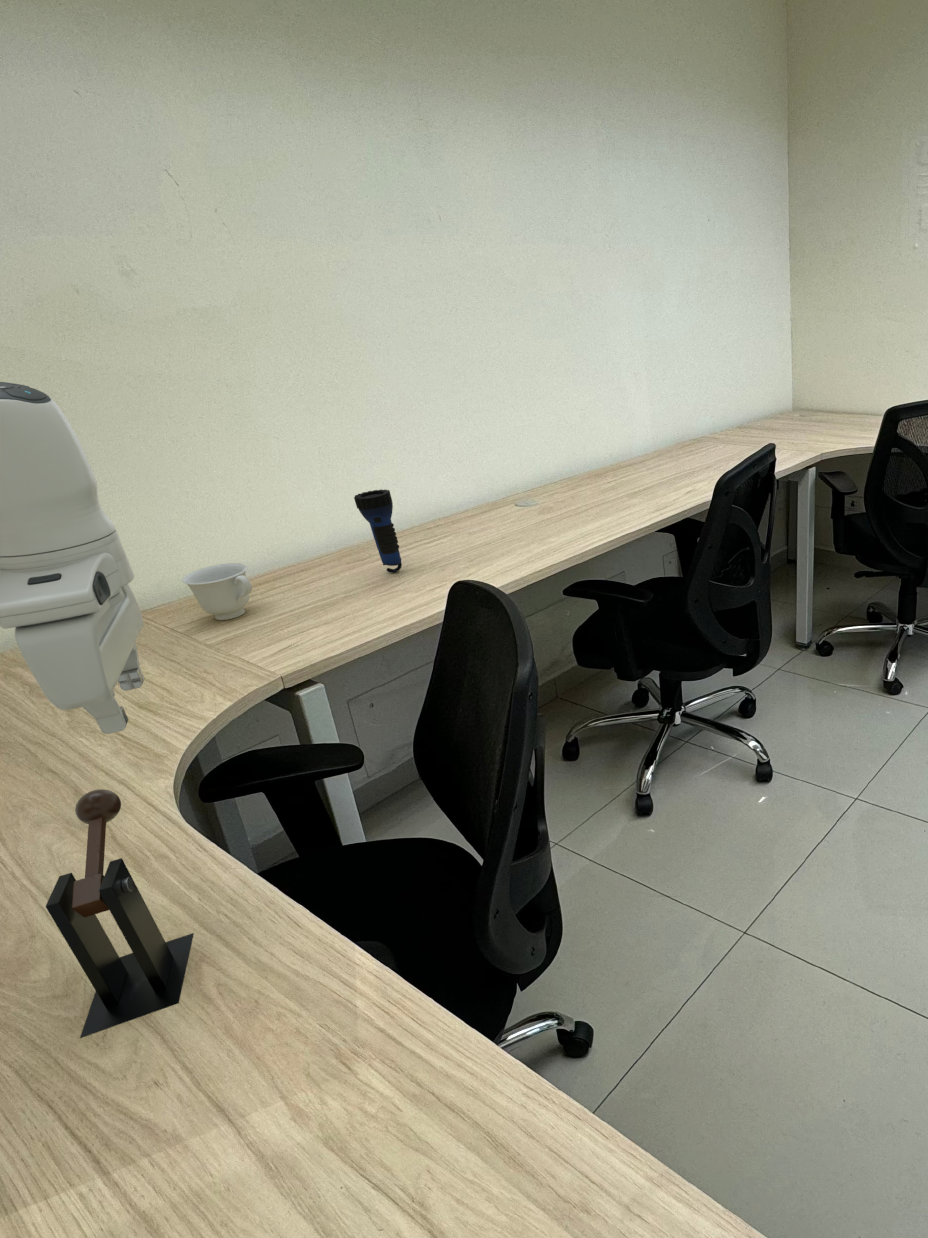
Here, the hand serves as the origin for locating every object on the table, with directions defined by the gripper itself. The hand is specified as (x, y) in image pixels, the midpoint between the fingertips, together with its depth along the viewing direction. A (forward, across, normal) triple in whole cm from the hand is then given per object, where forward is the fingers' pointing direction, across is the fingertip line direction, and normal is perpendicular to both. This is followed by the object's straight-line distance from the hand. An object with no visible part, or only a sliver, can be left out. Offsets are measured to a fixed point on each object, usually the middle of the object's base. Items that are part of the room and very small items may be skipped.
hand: (126, 706), depth 73 cm
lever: (+16, 0, -7) cm, 17 cm away
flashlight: (+27, -113, +29) cm, 120 cm away
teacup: (+28, -105, -4) cm, 109 cm away
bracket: (+29, +5, -7) cm, 30 cm away
